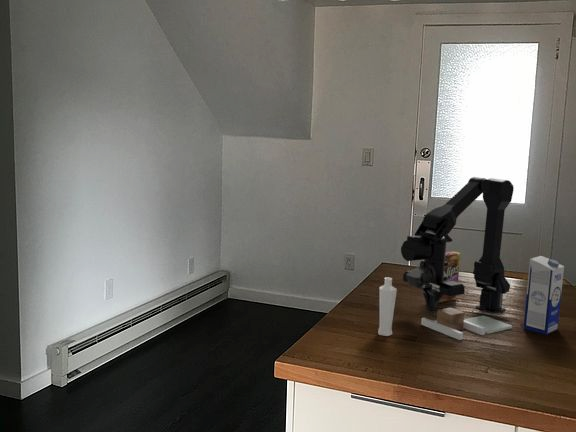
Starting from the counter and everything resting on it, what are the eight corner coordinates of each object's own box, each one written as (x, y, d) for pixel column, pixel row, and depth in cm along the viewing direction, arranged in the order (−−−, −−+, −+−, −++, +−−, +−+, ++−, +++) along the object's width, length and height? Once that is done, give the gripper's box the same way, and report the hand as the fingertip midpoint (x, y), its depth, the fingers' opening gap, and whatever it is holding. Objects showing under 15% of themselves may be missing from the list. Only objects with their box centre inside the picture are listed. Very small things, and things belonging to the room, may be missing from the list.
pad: (483, 318, 188) (483, 315, 188) (511, 328, 179) (512, 325, 179) (459, 323, 182) (459, 320, 182) (487, 333, 174) (487, 330, 174)
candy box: (437, 303, 201) (441, 255, 198) (427, 300, 204) (430, 252, 202) (457, 300, 206) (461, 253, 203) (447, 296, 209) (450, 250, 207)
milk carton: (534, 323, 185) (541, 254, 182) (557, 329, 180) (565, 259, 177) (522, 328, 180) (529, 258, 177) (546, 334, 175) (554, 262, 172)
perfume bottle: (394, 332, 173) (398, 277, 170) (392, 337, 168) (395, 281, 166) (377, 329, 174) (381, 275, 172) (374, 334, 170) (378, 279, 168)
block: (449, 324, 181) (450, 307, 180) (462, 330, 177) (464, 312, 176) (436, 327, 178) (437, 309, 177) (450, 332, 174) (451, 314, 173)
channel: (445, 319, 185) (446, 313, 185) (484, 334, 173) (485, 328, 173) (421, 324, 180) (421, 318, 179) (459, 340, 168) (460, 333, 168)
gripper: (390, 253, 184) (387, 306, 187) (438, 268, 169) (434, 325, 171) (419, 250, 190) (415, 301, 193) (468, 264, 175) (463, 319, 177)
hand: (430, 311), depth 183 cm, fingers closed
